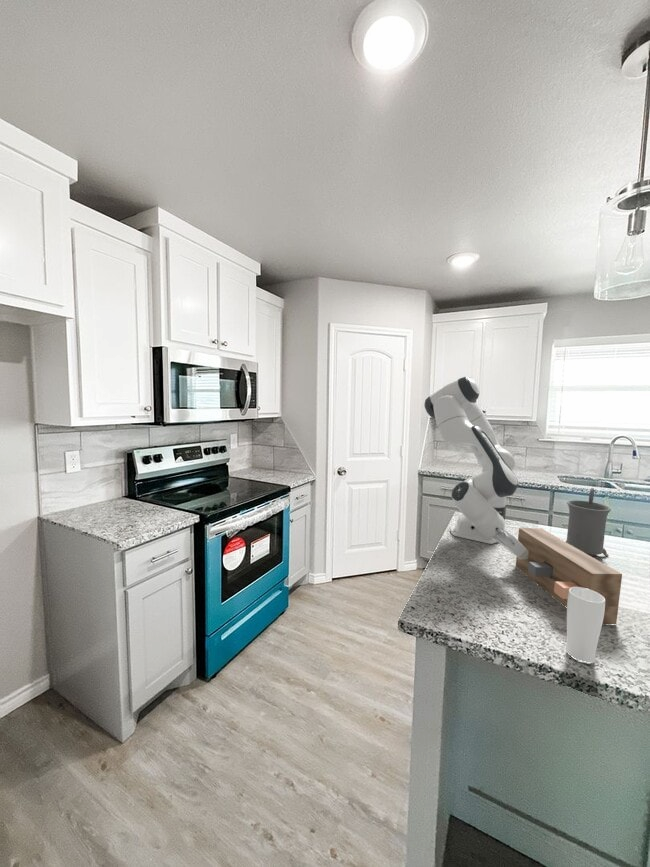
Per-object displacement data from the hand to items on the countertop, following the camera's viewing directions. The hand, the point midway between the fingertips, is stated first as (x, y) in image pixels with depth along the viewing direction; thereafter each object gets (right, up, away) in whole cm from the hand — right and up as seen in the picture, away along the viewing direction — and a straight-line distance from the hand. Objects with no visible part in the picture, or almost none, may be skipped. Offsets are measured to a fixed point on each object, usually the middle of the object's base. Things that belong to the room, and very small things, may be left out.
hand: (515, 552), depth 122 cm
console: (+7, -8, -11) cm, 16 cm away
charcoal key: (+1, -3, -12) cm, 12 cm away
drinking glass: (-7, -11, -40) cm, 42 cm away
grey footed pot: (+37, -7, +19) cm, 42 cm away
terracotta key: (+2, -4, -24) cm, 24 cm away
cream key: (+3, -2, 0) cm, 4 cm away
